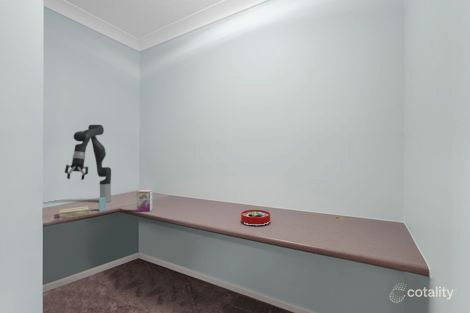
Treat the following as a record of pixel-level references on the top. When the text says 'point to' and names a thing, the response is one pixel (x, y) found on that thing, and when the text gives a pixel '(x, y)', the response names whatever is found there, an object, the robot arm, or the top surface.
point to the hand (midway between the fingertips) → (75, 179)
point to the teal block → (102, 204)
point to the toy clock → (255, 216)
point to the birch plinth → (74, 212)
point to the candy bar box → (144, 200)
